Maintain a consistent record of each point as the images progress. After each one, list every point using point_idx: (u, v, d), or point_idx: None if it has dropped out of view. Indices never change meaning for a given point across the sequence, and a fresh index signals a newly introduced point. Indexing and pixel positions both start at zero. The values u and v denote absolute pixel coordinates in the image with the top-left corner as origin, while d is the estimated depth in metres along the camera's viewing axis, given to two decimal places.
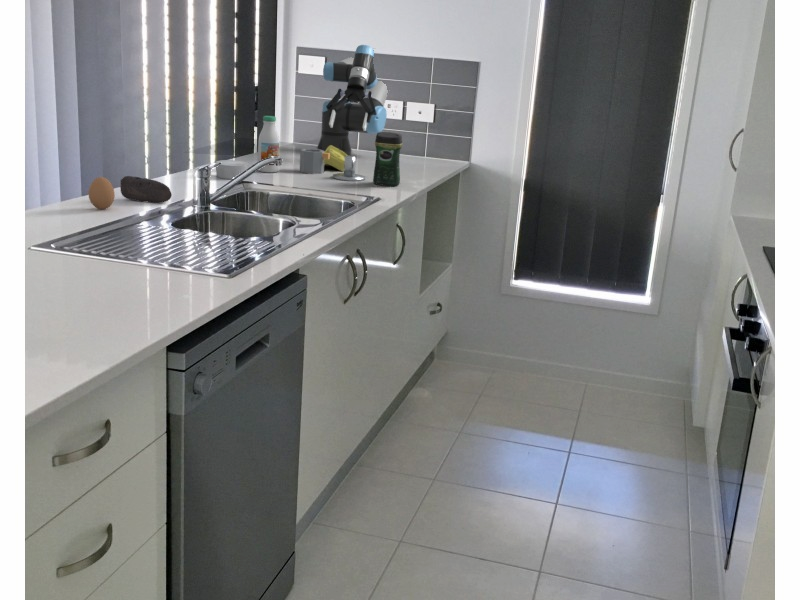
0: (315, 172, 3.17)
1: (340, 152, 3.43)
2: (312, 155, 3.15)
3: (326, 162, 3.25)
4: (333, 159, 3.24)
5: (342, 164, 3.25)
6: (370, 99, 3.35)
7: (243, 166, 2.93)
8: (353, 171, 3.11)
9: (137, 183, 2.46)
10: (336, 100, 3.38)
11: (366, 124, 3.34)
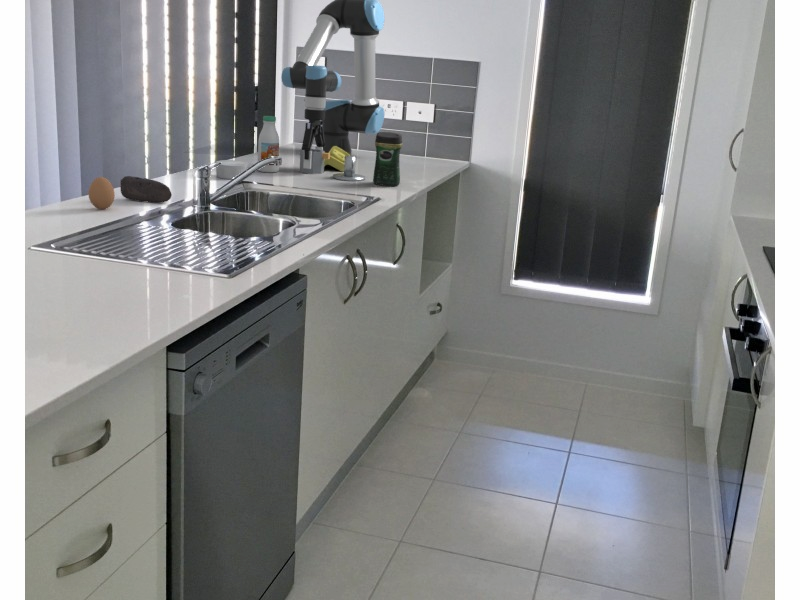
0: (315, 172, 3.17)
1: (344, 153, 3.43)
2: (312, 155, 3.15)
3: (327, 163, 3.25)
4: (334, 160, 3.25)
5: (342, 165, 3.25)
6: None
7: (243, 166, 2.93)
8: (353, 171, 3.11)
9: (137, 183, 2.46)
10: None
11: (308, 161, 3.12)
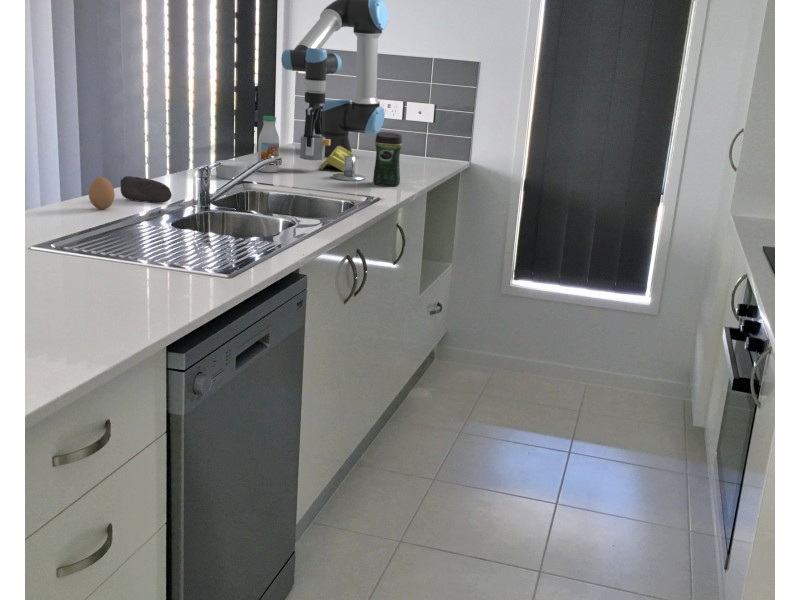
0: (316, 158, 3.16)
1: (348, 153, 3.42)
2: None
3: (327, 162, 3.25)
4: (334, 159, 3.24)
5: (343, 164, 3.25)
6: None
7: (243, 166, 2.93)
8: (353, 171, 3.11)
9: (137, 183, 2.46)
10: None
11: (311, 148, 3.14)
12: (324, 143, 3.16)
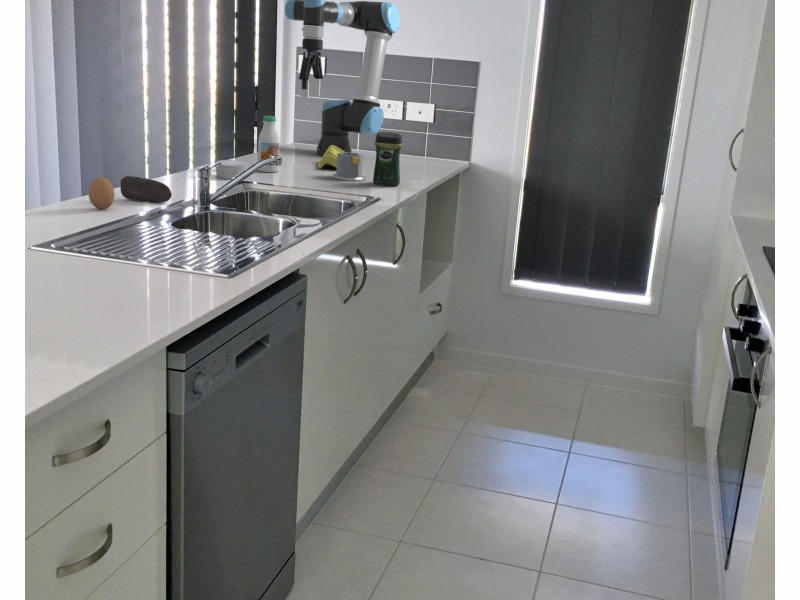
0: (343, 175, 3.09)
1: None
2: (340, 158, 3.08)
3: (326, 161, 3.26)
4: (333, 158, 3.26)
5: None
6: None
7: (243, 166, 2.93)
8: None
9: (137, 183, 2.46)
10: None
11: (306, 91, 3.12)
12: (352, 161, 3.07)
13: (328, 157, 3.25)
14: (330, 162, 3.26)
